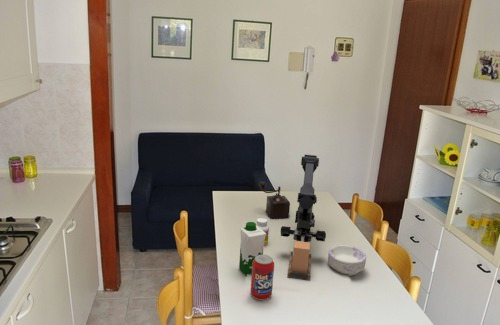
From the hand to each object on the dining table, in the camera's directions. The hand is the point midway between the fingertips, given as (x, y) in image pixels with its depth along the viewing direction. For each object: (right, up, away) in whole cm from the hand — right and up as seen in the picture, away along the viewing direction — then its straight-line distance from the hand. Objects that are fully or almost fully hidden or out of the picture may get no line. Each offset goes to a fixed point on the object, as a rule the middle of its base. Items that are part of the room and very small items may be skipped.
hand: (301, 253), depth 170 cm
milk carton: (-21, -7, -3) cm, 22 cm away
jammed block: (-1, -6, -4) cm, 8 cm away
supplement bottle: (-16, -1, +18) cm, 24 cm away
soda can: (-17, -11, -18) cm, 28 cm away
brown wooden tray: (-1, -7, 0) cm, 7 cm away
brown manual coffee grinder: (-9, +9, +53) cm, 55 cm away
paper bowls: (+19, -8, +3) cm, 20 cm away
